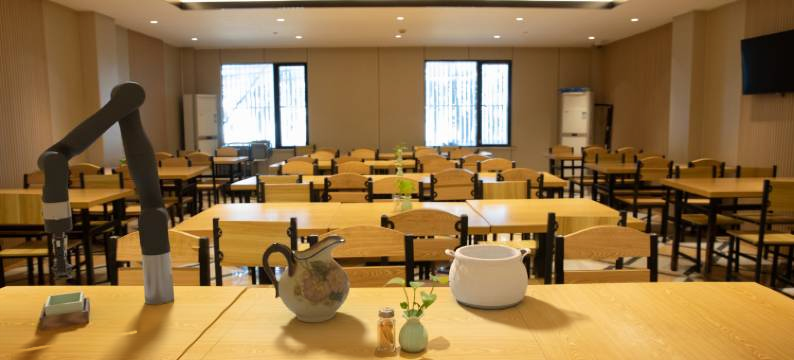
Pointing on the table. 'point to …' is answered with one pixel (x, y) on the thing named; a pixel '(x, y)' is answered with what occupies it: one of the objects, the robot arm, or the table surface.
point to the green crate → (64, 303)
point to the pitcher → (310, 280)
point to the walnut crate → (65, 318)
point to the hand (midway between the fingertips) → (62, 268)
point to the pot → (488, 276)
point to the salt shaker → (63, 274)
